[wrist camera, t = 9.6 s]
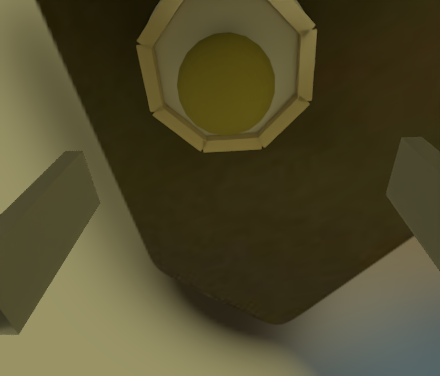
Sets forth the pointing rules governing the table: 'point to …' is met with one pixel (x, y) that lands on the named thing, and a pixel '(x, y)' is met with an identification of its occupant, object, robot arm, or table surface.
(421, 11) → the table surface
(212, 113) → the light bulb
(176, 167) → the table surface
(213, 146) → the socket base
